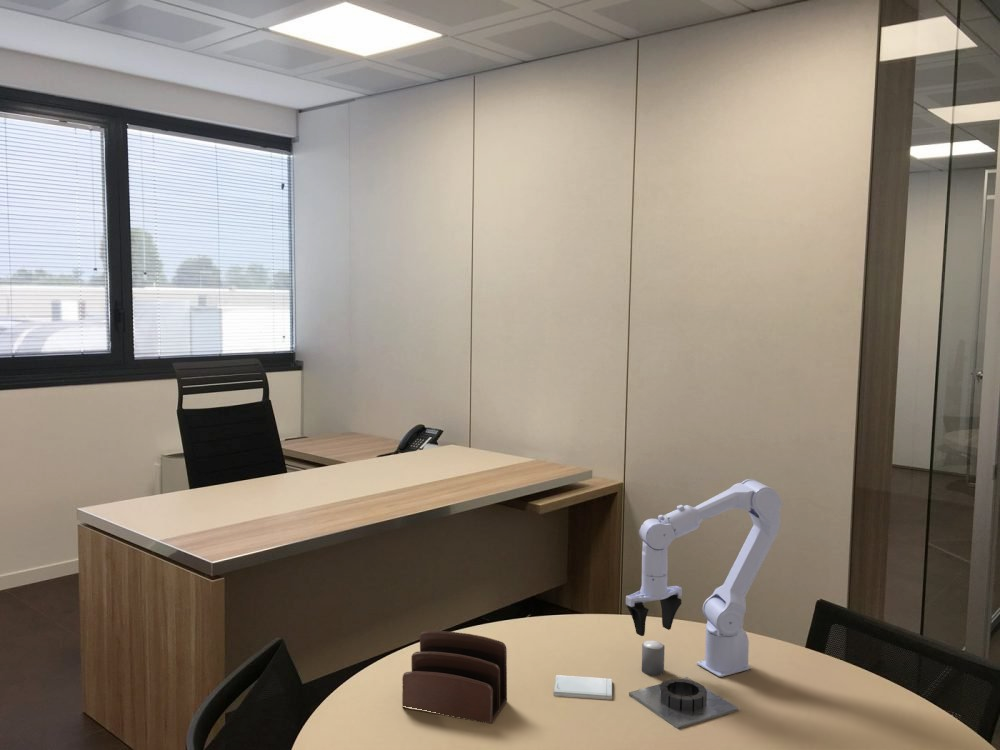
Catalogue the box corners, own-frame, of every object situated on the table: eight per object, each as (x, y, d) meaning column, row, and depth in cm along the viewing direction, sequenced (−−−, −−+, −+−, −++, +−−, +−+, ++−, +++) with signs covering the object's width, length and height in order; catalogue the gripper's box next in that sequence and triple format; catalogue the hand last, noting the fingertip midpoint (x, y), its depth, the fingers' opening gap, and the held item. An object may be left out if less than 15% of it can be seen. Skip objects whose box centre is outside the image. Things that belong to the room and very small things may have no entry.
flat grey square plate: (686, 679, 185) (687, 666, 185) (738, 710, 171) (739, 696, 171) (628, 695, 177) (629, 681, 177) (677, 728, 163) (678, 714, 163)
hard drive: (553, 691, 177) (612, 694, 175) (555, 674, 185) (612, 677, 183) (553, 698, 177) (612, 702, 175) (555, 681, 185) (611, 684, 184)
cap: (654, 664, 193) (655, 638, 192) (668, 673, 188) (669, 646, 188) (637, 668, 190) (637, 642, 190) (650, 677, 186) (651, 650, 185)
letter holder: (421, 688, 181) (421, 625, 179) (507, 702, 174) (508, 637, 173) (401, 709, 171) (401, 643, 170) (492, 725, 165) (492, 656, 164)
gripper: (668, 563, 194) (667, 619, 195) (617, 572, 187) (617, 631, 188) (688, 571, 188) (687, 629, 189) (637, 582, 181) (636, 642, 182)
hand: (653, 631), depth 188 cm, fingers open, 7 cm apart
